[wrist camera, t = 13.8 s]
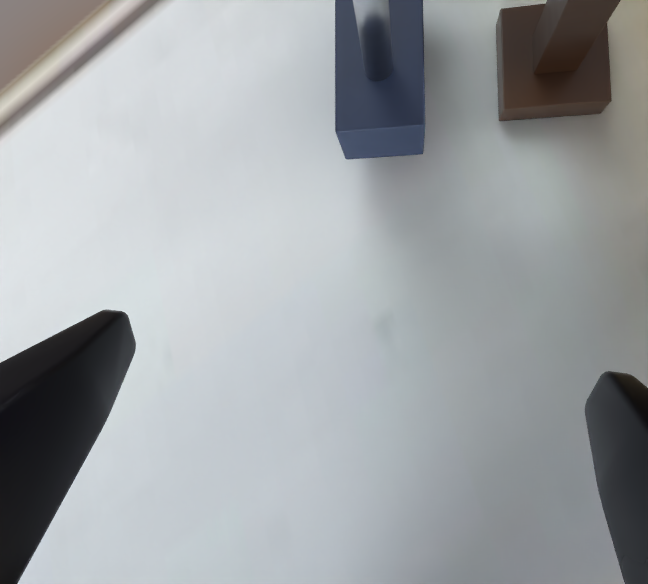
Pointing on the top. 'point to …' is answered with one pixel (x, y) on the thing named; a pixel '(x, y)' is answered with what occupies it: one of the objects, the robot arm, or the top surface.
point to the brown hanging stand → (553, 59)
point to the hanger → (379, 77)
